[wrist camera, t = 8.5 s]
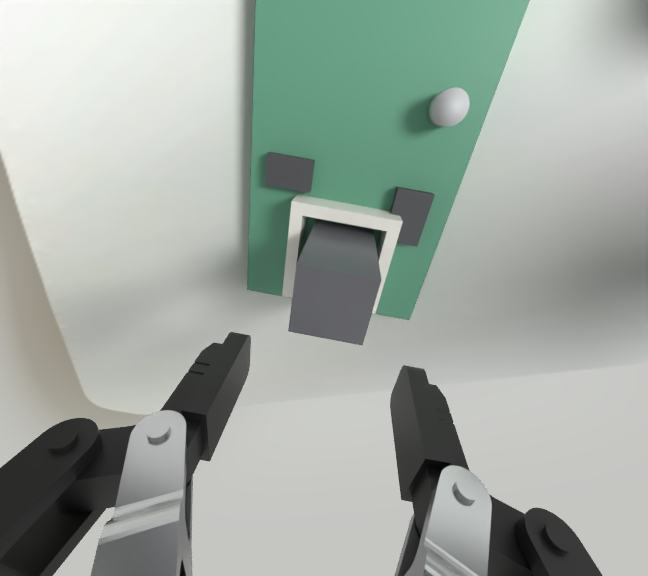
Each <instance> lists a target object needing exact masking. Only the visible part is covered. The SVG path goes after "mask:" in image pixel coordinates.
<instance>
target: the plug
mask: <svg viewBox="0 0 648 576" xmlns="http://www.w3.org/2000/svg"><path fill="white" fill-rule="evenodd" d="M380 283H381V274H380V267H379V261H378V255H377V249H376V243H375V237H374V231H373V229H368V228H363V227H358V226H352V225H347V224H341V223H336V222H331V221H325V220H320V219H316V221H315V223H314V226H313V228H312V230H311V232H310V235H309V237H308V239H307V241H306V244H305V246H304V248H303V251H302V253H301V255H300V257H299V260H298V262H297V265H296V273H295V281H294V289H293V297H292V306H291V314H290V322H289V330H288V331H290V332H295V333H300V334H305V335H311V336H316V337H321V338H327V339H332V340H337V341H342V342H348V343H353V344H358V345H363V341H364V338H365V334H366V331H367V328H368V324H369V321H370V317H371V314H372V311H373V307H374V304H375V300H376V297H377V293H378V290H379V287H380Z"/></svg>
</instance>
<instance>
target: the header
mask: <svg viewBox="0 0 648 576" xmlns="http://www.w3.org/2000/svg"><path fill="white" fill-rule="evenodd" d="M306 216H307V217H312V218H318V219H323V220H328V221H334V222H339V223H345V224H350V225H355V226H361V227H366V228H371V229H377V230H382V232H381V236H380V240H379V243H378V247H377V255H378V261H379V267H380V274H381V283H380V287H379V290H378V293H377V297H376V300H375V304H374V307H373V311H372V313H374V314H375V313H376V309H377V306H378V303H379V299H380V296H381V293H382V289H383V286H384V283H385V279H386V276H387V273H388V269H389V266H390V263H391V259H392V256H393V253H394V249H395V246H396V243H397V239H398V236H399V233H400V229H401V226H402V223H403V221H402V219H401V217H400V216H398V215H393V214H391V213H390V211H386V210H380V209H375V208H369V207H364V206H359V205H353V204H348V203H342V202H337V201H332V200H326V199H321V198H315V197H310V196H305V195H299V194H297V196H296V197H295V198H294V199H293V200H292V201H291V211H290V221H289V231H288V241H287V251H286V261H285V271H284V281H283V291H282V296H283V297H289V298H292V297H293V289H294V281H295V273H296V265H297V262H298V260H299V257H300V255H301V253H302V246H303V238H304V230H305V222H306Z"/></svg>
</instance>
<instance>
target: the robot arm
mask: <svg viewBox="0 0 648 576" xmlns="http://www.w3.org/2000/svg"><path fill="white" fill-rule="evenodd" d="M250 344H251V337H250V335H244V334H239V333H234V332H230V333H229V335H228V336H227V338H226V339H225V341H224V343H223V344H218V343H213V344H211V345H210V346H208V347H207V348H205V349H204V350H203V351H202V352H201V353H200V355H199V356H198V358H197V359H196V360H195V363H194V364H193V365H192V366H191V368H190V369H189V371H188V373H186V375H185V376H184V378H183V379H182V381H181V382H180V383H179V385H178V386H177V388H176V389H175V391H174V392H173V393H172V395H171V396H170V398H169V399H168V401H167V402H166V403H165V405H164V406H163V408H162V409H161V410H160V411H158V412H155V413H152V414H150V415H148V416H147V417H145V418H144V419H142V420H141V421H140V422H139V423H138V424H137V425H133V426H128V427H120V428H111V429H103V430H98V427H97V425H96V423H95V422H93V421H92V420H90V419H86V418H76V419H70V420H66V421H63V422H61V423H59V424H57V425H55V426H53V427H51V428H49V429H48V430H46V431H45V432H44V433H42V434H41V435H40V436H39V437H38V438H36V439H35V440H34V441H33V442H32V443H30V444H29V445H28V446H27V447H25V449H23V450H22V451H21V452H19V453H18V454H17V455H16V456H14V457H13V458H12V459H11V460H10V461H8V462H7V463H6V464H5V465H3V466H2V467H1V468H0V576H53V574H54V573H55V572H56V571H57V569H58V568H59V567H60V566H61V564H62V563H63V562H64V561H65V559H66V558H67V557H68V556H69V554H70V553H71V552H72V550H73V549H74V548H75V547H76V546H77V544H78V543H79V542H80V540H81V539H82V538H83V537H84V536H85V534H86V533H87V532H88V531H89V529H90V528H91V527H92V526H93V524H94V523H95V522H96V521H97V519H98V518H99V517H100V515H101V514H102V513H103V512H104V511H105V509H106V508H111V507H115V510H114V513H113V516H112V518H111V520H110V521H108V522H107V523H106V524H105V525H104V527H103V530H102V533H101V535H100V538H99V542H98V546H97V551H96V555H95V559H94V564H93V568H92V572H91V576H192V550H191V549H192V548H191V539H192V491H193V473H194V471H195V469H196V467H197V465H198V462H199V461H200V460H205V461H210V460H211V457H212V455H213V453H214V451H215V448H216V446H217V444H218V441H219V439H220V437H221V435H222V432H223V430H224V428H225V426H226V423H227V421H228V419H229V417H230V414H231V412H232V410H233V408H234V405H235V403H236V401H237V399H238V396H239V394H240V392H241V390H242V387H243V385H244V383H245V381H246V378H247V375H248V371H249V366H250ZM390 408H391V416H392V425H393V433H394V442H395V450H396V459H397V467H398V475H399V484H400V492H401V499H402V500H405V501H410V502H413V509H414V514H413V516H412V518H411V520H410V524H409V528H408V531H407V535H406V538H405V541H404V545H403V548H402V552H401V555H400V559H399V562H398V566H397V569H396V573H395V576H602V574H601V573H600V571H599V570H598V568H597V567H596V565H595V563H594V562H593V560H592V559H591V557H590V556H589V554H588V552H587V551H586V549H585V548H584V546H583V544H582V543H581V541H580V540H579V538H578V537H577V536H576V534H575V533H574V532H573V531H572V529H571V528H570V527H569V526H568V525H567V524H566V523H565V522H564V521H563V520H561V519H560V518H559V517H557V516H556V515H555V514H553V513H551V512H549V511H547V510H545V509H541V508H532V509H530V510H529V511H528V512H527V513H526V514H524V513H522V512H520V511H518V510H516V509H514V508H512V507H510V506H508V505H506V504H505V503H503V502H501V501H499V500H497V499H495V498H494V497H492V496H491V495H490V494H489V493H488V491H487V489H486V488H485V486H484V484H483V483H482V482H481V481H480V480H479V479H478V477H476V476H475V475H474V474H473V473H472V472H470V470H469V468H468V465H467V462H466V459H465V456H464V453H463V450H462V447H461V444H460V441H459V438H458V435H457V432H456V429H455V426H454V424H453V420H452V417H451V414H450V413H449V407H448V404H447V401H446V398H445V397H444V396H443V394H442V393H441V391H440V390H439V389H438V387H437V386H436V385H431V384H429V383H428V379H427V376H426V372H425V370H424V369H421V368H415V367H410V366H405V365H404V366H403V367H402V369H401V371H400V374H399V376H398V379H397V381H396V384H395V386H394V389H393V391H392V395H391V402H390Z"/></svg>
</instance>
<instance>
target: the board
mask: <svg viewBox="0 0 648 576" xmlns="http://www.w3.org/2000/svg"><path fill="white" fill-rule="evenodd" d="M529 1H530V0H256V7H255V41H254V76H253V110H252V144H251V179H250V213H249V247H248V282H247V290H252V291H257V292H263V293H268V294H273V295H279V296H282V291H283V281H284V271H285V261H286V251H287V241H288V231H289V221H290V211H291V201H292V200H293V199H294V198H295V197H296V196H297V194H299V195H305V196H310V197H315V198H321V199H326V200H332V201H337V202H342V203H348V204H353V205H359V206H364V207H369V208H375V209H380V210H386V211H390V213H391V214H393V215H398V216H400V217H401V219H402V221H403V223H402V226H401V229H400V233H399V236H398V239H397V243H396V246H395V249H394V253H393V256H392V259H391V263H390V266H389V269H388V273H387V276H386V279H385V283H384V286H383V289H382V293H381V296H380V299H379V303H378V306H377V309H376V313H375V314H380V315H385V316H390V317H396V318H401V319H406V320H409V319H410V317H411V314H412V311H413V309H414V306H415V303H416V301H417V298H418V295H419V293H420V290H421V287H422V285H423V282H424V279H425V277H426V274H427V271H428V269H429V266H430V263H431V261H432V258H433V256H434V253H435V250H436V248H437V245H438V242H439V240H440V237H441V234H442V232H443V229H444V226H445V224H446V221H447V218H448V216H449V213H450V210H451V208H452V205H453V202H454V200H455V197H456V194H457V192H458V189H459V186H460V184H461V181H462V179H463V176H464V173H465V171H466V168H467V165H468V163H469V160H470V157H471V155H472V152H473V149H474V147H475V144H476V141H477V139H478V136H479V133H480V131H481V128H482V125H483V123H484V120H485V117H486V115H487V112H488V109H489V107H490V104H491V102H492V99H493V96H494V94H495V91H496V88H497V86H498V83H499V80H500V78H501V75H502V72H503V70H504V67H505V64H506V62H507V59H508V56H509V54H510V51H511V48H512V46H513V43H514V40H515V38H516V35H517V32H518V30H519V27H520V25H521V22H522V19H523V17H524V14H525V11H526V9H527V6H528V3H529ZM316 219H318V218H312V217H307V216H306V222H305V230H304V238H303V246H302V251H303V248H304V246H305V244H306V241H307V239H308V237H309V235H310V232H311V230H312V228H313V226H314V223H315V221H316ZM320 220H323V219H320ZM325 221H328V220H325ZM331 222H334V221H331ZM336 223H339V222H336ZM341 224H345V223H341ZM347 225H350V224H347ZM352 226H355V225H352ZM358 227H361V226H358ZM363 228H366V227H363ZM368 229H371V228H368ZM373 231H374V237H375V243H376V249H377V247H378V243H379V240H380V236H381V232H382V230H377V229H373Z"/></svg>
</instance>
